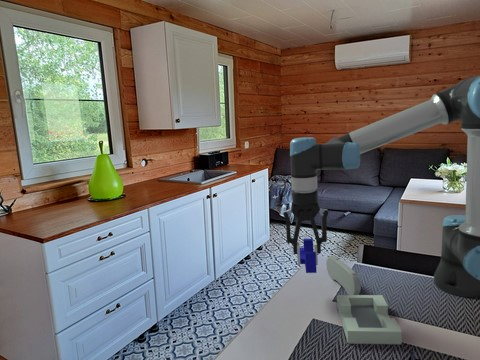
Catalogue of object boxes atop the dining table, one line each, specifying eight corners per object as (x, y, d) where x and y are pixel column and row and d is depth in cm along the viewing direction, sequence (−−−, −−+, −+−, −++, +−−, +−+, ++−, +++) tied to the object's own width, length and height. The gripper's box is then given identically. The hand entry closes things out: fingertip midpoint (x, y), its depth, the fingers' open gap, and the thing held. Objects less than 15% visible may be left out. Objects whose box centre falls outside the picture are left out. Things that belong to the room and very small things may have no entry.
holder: (382, 305, 105) (382, 295, 105) (401, 344, 88) (401, 331, 88) (337, 305, 107) (337, 295, 106) (347, 343, 90) (347, 331, 89)
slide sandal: (361, 300, 109) (361, 275, 108) (354, 301, 109) (354, 276, 107) (332, 273, 128) (331, 251, 126) (326, 274, 128) (325, 252, 126)
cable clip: (299, 256, 116) (298, 238, 115) (313, 255, 115) (312, 238, 114) (300, 273, 104) (300, 254, 103) (316, 272, 104) (315, 253, 103)
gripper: (333, 185, 108) (334, 257, 112) (275, 188, 110) (279, 258, 115) (336, 191, 101) (338, 268, 105) (274, 194, 103) (278, 269, 107)
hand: (307, 263), depth 110 cm, fingers closed on cable clip, 4 cm apart
